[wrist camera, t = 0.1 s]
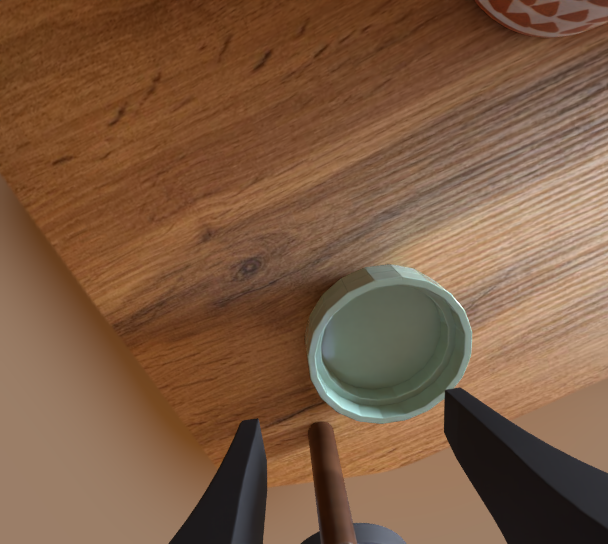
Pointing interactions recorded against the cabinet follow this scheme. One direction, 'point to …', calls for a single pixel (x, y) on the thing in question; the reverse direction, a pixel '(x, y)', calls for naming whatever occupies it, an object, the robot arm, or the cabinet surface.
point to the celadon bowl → (386, 344)
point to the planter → (547, 15)
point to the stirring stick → (329, 487)
